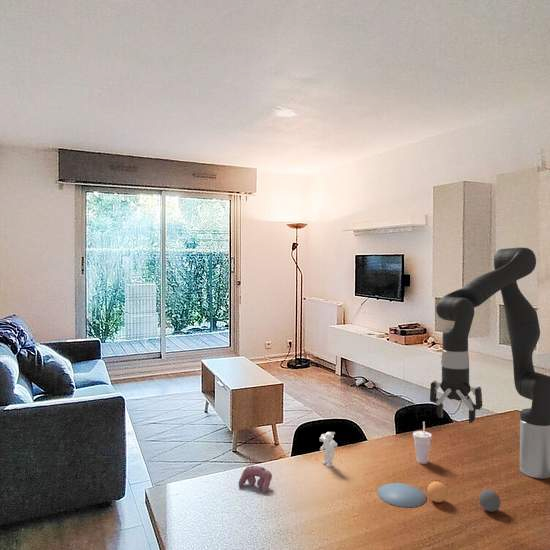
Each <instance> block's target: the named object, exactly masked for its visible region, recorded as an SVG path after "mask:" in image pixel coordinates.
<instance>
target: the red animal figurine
mask: <svg viewBox="0 0 550 550" xmlns="http://www.w3.org/2000/svg"><path fill="white" fill-rule="evenodd" d="M256 477H258V479H256ZM272 479H273V474H272V473H271V471H269V470H267V468H264V467H262V466H260V465H259V466H258V465H249V466H246V468H245V469H244V470H243V471H242V473H241V476H240V477H239V481H238V487H239V488H242V487H243V486H244V485H245V484H246V482H248V485H250V486H254V485H257V487H259V488H262V493H264V494H265V493H266V492H268V490H269V487H270V484H271V480H272Z"/></svg>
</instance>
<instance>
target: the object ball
mask: <svg viewBox="0 0 550 550" xmlns="http://www.w3.org/2000/svg"><path fill="white" fill-rule="evenodd" d="M426 493H427V496H428V498H430V500H432V501H433V502H435V503H442V502H444V501H445V500H447V497H448V490H447V487H446V486H445V485H444V484H443V483H441V482H440V481H432V482H430V483H429V484H428V486H427V490H426Z"/></svg>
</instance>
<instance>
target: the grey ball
mask: <svg viewBox="0 0 550 550" xmlns="http://www.w3.org/2000/svg"><path fill="white" fill-rule="evenodd" d="M478 502H479V504H480V506H481V507H482V508H483V509H484V510H485V511H487V512H495V511H498V510H499V509H500V507H501V505H502V504H501V498H500V496H499V495H498V493H497V492H495V491H494V490H492V489H484V490H482V491H481V492H480V493H479V495H478Z"/></svg>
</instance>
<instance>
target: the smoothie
mask: <svg viewBox="0 0 550 550" xmlns="http://www.w3.org/2000/svg"><path fill="white" fill-rule="evenodd" d="M425 423H426V422H425V421H422V426H423V427H422V430H416V431H414V432H412V437H413V441H414V449H415V457H416V458H415V459H416V462H417V463H419V464H423V465H426V464H428V462H429V456H430V447H431V440H432V439H433V438H432V437H433V436H432V433H430V432H428V431H426V424H425Z"/></svg>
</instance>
